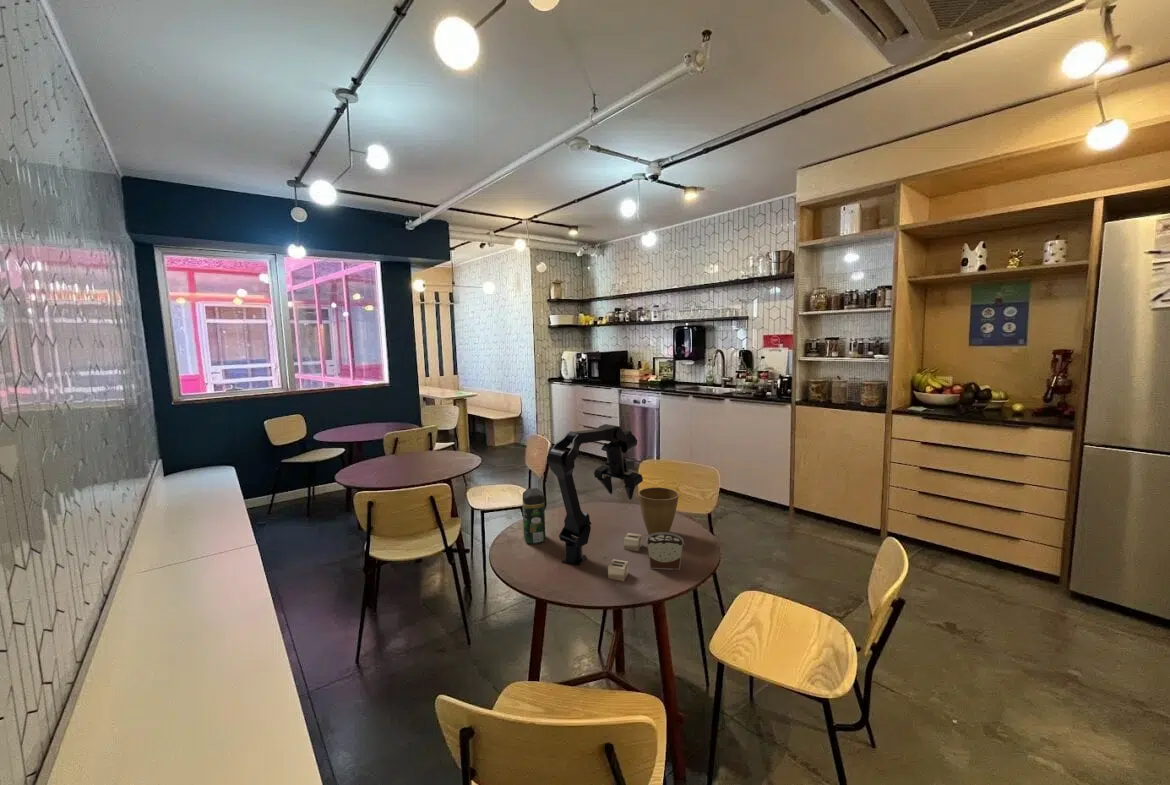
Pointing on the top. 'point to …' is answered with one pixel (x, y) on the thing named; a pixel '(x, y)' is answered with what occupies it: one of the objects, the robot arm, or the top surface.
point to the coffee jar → (533, 516)
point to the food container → (665, 550)
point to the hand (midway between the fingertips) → (620, 496)
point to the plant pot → (658, 508)
